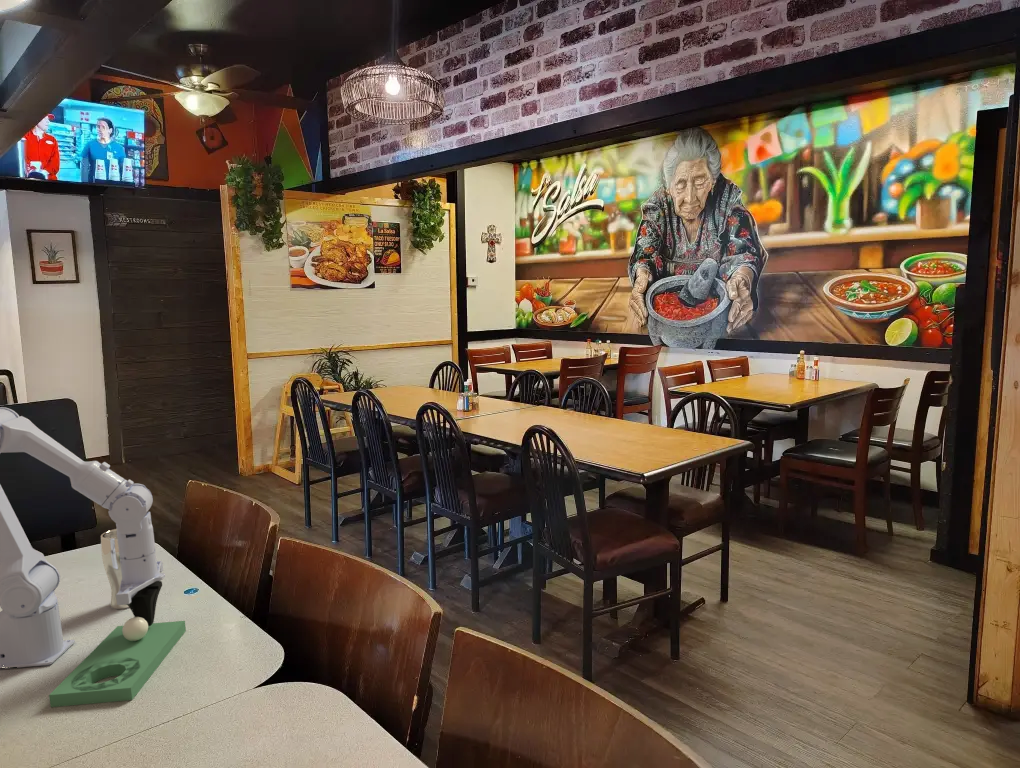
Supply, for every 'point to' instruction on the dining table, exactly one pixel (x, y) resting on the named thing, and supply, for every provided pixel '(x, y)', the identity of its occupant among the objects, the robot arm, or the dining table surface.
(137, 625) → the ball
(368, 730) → the dining table surface
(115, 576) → the beer glass
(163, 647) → the putting mat
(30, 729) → the dining table surface
